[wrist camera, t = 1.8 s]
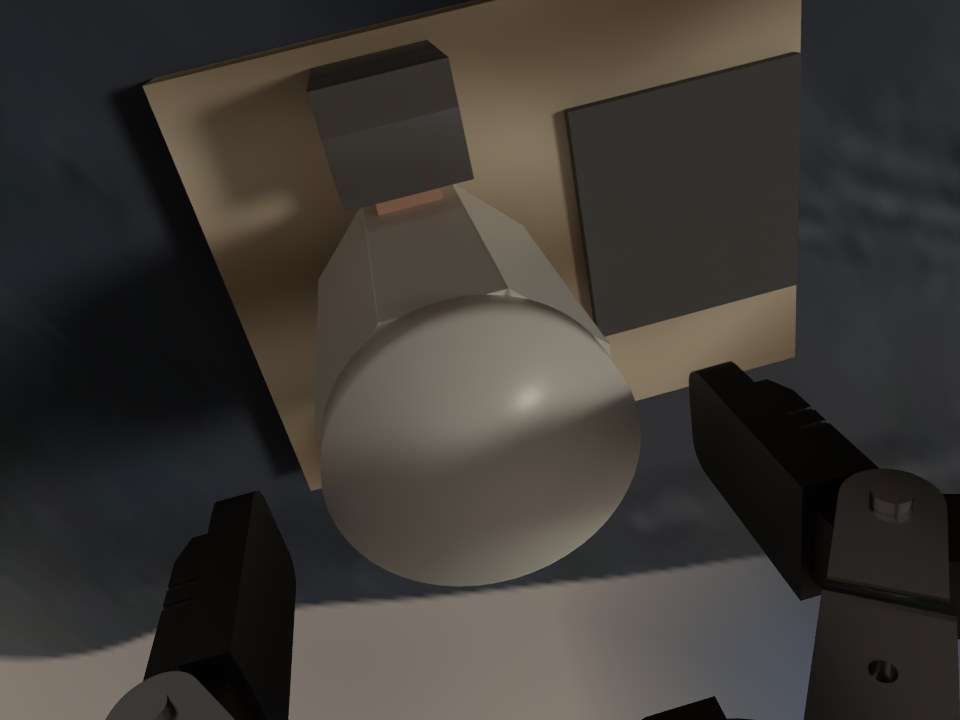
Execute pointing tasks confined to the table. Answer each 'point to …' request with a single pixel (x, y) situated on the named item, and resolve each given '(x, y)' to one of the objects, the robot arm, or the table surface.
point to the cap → (463, 396)
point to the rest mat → (689, 192)
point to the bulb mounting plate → (445, 159)
